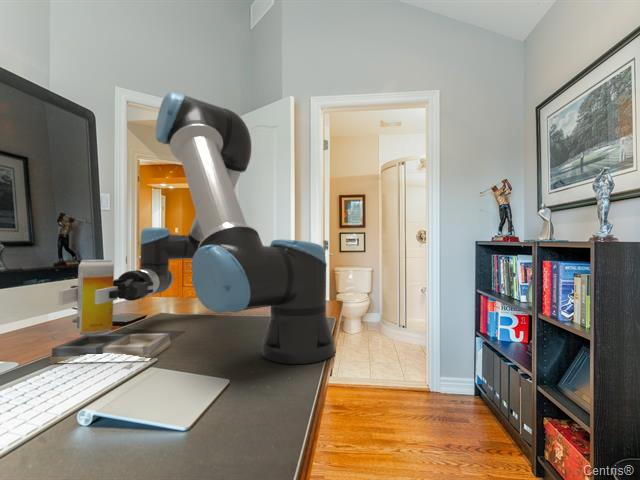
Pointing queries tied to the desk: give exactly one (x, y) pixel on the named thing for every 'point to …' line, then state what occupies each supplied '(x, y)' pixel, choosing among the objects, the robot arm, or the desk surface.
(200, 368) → the desk surface
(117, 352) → the socket board
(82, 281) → the beer can
